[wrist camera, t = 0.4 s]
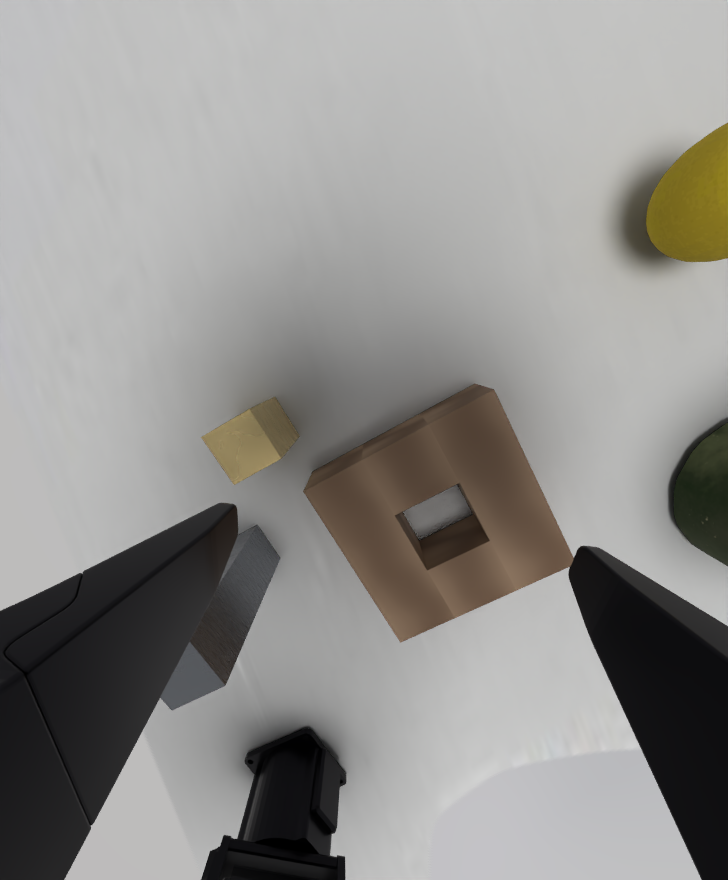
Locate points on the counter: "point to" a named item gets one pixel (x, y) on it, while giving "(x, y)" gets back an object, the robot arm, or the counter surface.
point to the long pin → (224, 621)
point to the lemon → (693, 203)
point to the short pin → (252, 440)
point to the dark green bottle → (705, 496)
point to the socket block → (455, 547)
